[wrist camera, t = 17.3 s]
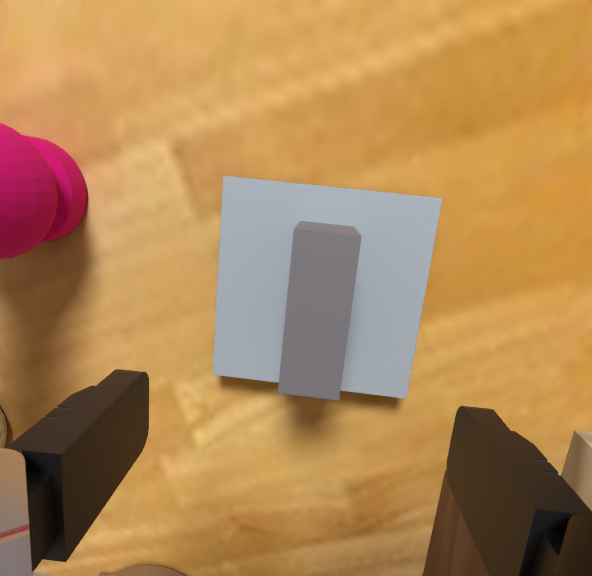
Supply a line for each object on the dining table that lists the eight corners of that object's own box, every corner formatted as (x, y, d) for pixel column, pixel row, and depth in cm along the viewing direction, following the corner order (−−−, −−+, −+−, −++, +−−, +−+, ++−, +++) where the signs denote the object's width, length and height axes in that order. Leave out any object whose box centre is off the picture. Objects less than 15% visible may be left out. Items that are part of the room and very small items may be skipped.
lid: (221, 360, 28) (185, 417, 21) (232, 177, 25) (195, 172, 18) (399, 382, 27) (425, 448, 20) (432, 197, 24) (474, 200, 17)
